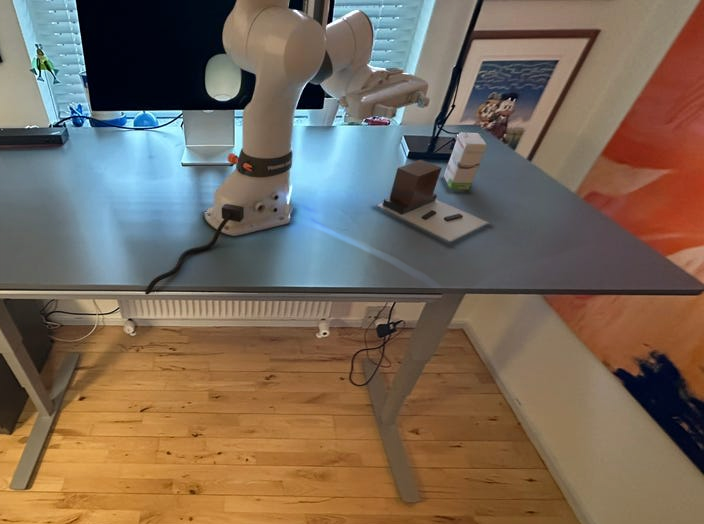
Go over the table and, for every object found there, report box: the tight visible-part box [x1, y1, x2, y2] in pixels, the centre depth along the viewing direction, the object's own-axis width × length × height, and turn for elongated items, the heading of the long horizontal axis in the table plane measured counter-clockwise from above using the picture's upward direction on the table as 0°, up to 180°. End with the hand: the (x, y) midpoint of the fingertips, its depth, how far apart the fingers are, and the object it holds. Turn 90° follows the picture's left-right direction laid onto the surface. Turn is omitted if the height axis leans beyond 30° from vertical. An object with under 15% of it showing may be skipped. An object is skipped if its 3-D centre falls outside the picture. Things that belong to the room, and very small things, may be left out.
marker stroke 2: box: [444, 214, 463, 221], centre depth 95 cm, size 4×1×1 cm, turn 111°
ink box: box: [443, 131, 488, 191], centre depth 104 cm, size 9×5×12 cm, turn 171°
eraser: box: [382, 159, 443, 215], centre depth 98 cm, size 12×6×8 cm, turn 123°
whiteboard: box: [376, 198, 490, 243], centre depth 98 cm, size 14×21×1 cm, turn 33°
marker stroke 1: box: [422, 210, 436, 220], centre depth 96 cm, size 4×1×1 cm, turn 131°
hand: (410, 108), depth 91 cm, fingers open, 8 cm apart
